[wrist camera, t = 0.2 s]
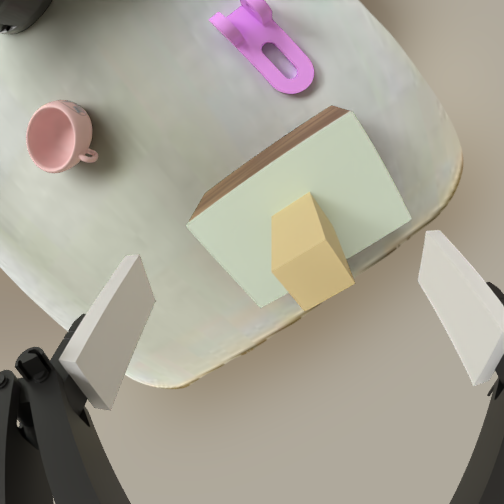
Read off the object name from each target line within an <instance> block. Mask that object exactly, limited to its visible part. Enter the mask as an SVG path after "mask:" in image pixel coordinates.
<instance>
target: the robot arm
mask: <svg viewBox="0 0 504 504" xmlns="http://www.w3.org/2000/svg"><path fill="white" fill-rule="evenodd" d="M51 1H52V0H0V33H2V34H15V33H19V32H21V31H23V30H25V29H27V28H28V27H29V26H31V25H32V24H33V23H34V22H35V21H36V20H37V19H38V18H39V17H40V16H41V15H42V14H43V13H44V11H45V10H46V9H47V7H48V6H49V4H50V2H51ZM418 283H419V284H420V286H421V287H422V289H423V291H424V293H425V294H426V296H427V298H428V299H429V301H430V303H431V305H432V306H433V308H434V310H435V312H436V313H437V315H438V317H439V319H440V321H441V322H442V324H443V326H444V328H445V330H446V332H447V333H448V335H449V337H450V339H451V341H452V343H453V345H454V347H455V349H456V351H457V353H458V355H459V357H460V359H461V361H462V363H463V365H464V367H465V369H466V371H467V373H468V376H469V378H470V380H471V382H472V384H473V386H475V385H478V384H481V383H484V382H487V381H489V379H490V378H491V376H492V375H493V373H494V371H496V372H497V375H498V379H497V380H496V382H495V383H494V385H493V386H492V388H491V390H490V391H489V393H488V396H490V394H491V393H492V392H493V394H492V397H491V401H490V404H489V408H488V411H487V414H486V417H485V420H484V423H483V426H482V429H481V432H480V435H479V438H478V441H477V443H476V446H475V449H474V451H473V454H472V456H471V459H470V461H469V464H468V466H467V468H466V471H465V473H464V475H463V477H462V479H461V481H460V484H459V486H458V488H457V490H456V492H455V494H454V496H453V498H452V500H451V502H450V504H504V294H503V293H502V292H501V290H500V289H499V288H497V287H496V286H495V285H493V284H492V283H490V282H487V283H486V282H485V281H484V280H483V279H482V277H481V276H480V275H479V274H478V273H477V271H476V270H475V269H474V268H473V267H472V265H471V264H470V263H469V262H468V261H467V260H466V258H465V257H464V256H463V255H462V254H461V253H460V252H459V250H457V248H456V247H455V246H454V245H453V244H452V243H451V242H450V241H449V239H448V238H447V237H446V236H445V235H444V234H443V233H442V232H441V231H440V230H432V231H426V234H425V241H424V248H423V254H422V260H421V266H420V271H419V276H418ZM155 302H156V300H155V298H154V295H153V292H152V289H151V286H150V283H149V281H148V278H147V275H146V272H145V269H144V266H143V263H142V260H141V257H140V254H136V255H126V256H125V257H124V258H123V260H122V261H121V263H120V264H119V266H118V267H117V268H116V270H115V271H114V273H113V274H112V276H111V277H110V279H109V280H108V282H107V283H106V284H105V286H104V287H103V289H102V290H101V292H100V293H99V295H98V296H97V298H96V300H95V301H94V303H93V304H92V306H91V307H90V309H89V310H88V312H87V314H82V315H81V316H80V317H79V318H78V319H77V320H75V321H74V323H73V324H72V326H71V327H70V329H69V332H67V334H66V335H65V337H64V339H63V340H62V342H61V344H60V345H59V347H58V348H57V350H56V352H55V354H54V355H53V357H52V358H51V360H49V359H48V357H47V356H46V355H45V353H44V351H43V350H42V349H41V348H39V347H32V348H29V349H27V350H26V351H24V352H23V353H22V354H21V355H20V356H19V357H18V359H17V361H16V364H15V368H16V369H17V370H18V371H19V373H20V374H21V375H22V376H23V378H16V376H15V375H14V374H13V372H12V371H10V370H4V371H1V372H0V504H53V498H54V501H55V503H56V504H131V503H130V501H129V500H128V498H127V496H126V494H125V492H124V490H123V489H122V487H121V485H120V483H119V481H118V479H117V477H116V475H115V473H114V471H113V469H112V466H111V464H110V463H109V460H108V458H107V456H106V453H105V451H104V449H103V447H102V444H101V442H100V440H99V437H98V435H97V432H96V430H95V428H94V425H93V422H92V420H91V417H90V415H89V412H88V410H87V409H86V407H85V403H86V401H87V399H88V400H89V402H90V403H91V404H92V405H93V406H94V408H98V409H104V410H111V409H112V406H113V403H114V401H115V398H116V396H117V393H118V390H119V388H120V385H121V383H122V380H123V377H124V375H125V373H126V370H127V368H128V365H129V363H130V360H131V358H132V355H133V353H134V350H135V348H136V346H137V343H138V341H139V339H140V336H141V334H142V332H143V329H144V327H145V325H146V322H147V320H148V318H149V315H150V313H151V311H152V309H153V306H154V304H155ZM17 420H18V421H19V422H20V426H19V427H17Z"/></svg>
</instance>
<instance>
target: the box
mask: <svg viewBox="0 0 504 504" xmlns="http://www.w3.org/2000/svg"><path fill="white" fill-rule="evenodd" d="M348 112H349V110H345V109H342V108H339V107H335V106H332V105H331V106H330V107H328V108H327V109H325V110H324V111H322V112H320V113H319V114H317V115H316V116H314V117H313V118H311V119H310V120H308V121H306V122H305V123H303V124H302V125H300V126H299V127H297V128H296V129H294V130H293V131H291V132H290V133H288V134H287V135H285V136H284V137H282V138H281V139H280V140H278V141H277V142H275V143H274V144H272V145H271V146H269V147H268V148H266V149H265V150H264V151H262V152H261V153H259V154H258V155H257V156H255V157H254V158H252V159H251V160H249V161H248V162H247V163H245V164H244V165H242V166H241V167H240V168H238V169H237V170H236V171H234V172H233V173H231V174H230V175H229V176H227V177H226V178H225V179H223V180H222V181H221V182H219V183H218V184H217V185H215V186H214V187H213V188H211V189H210V190H209V191H207V192H206V193H205V194H204V196H203V198H202V199H201V201H200V203H199V204H198V206H197V208H196V210H195V211H194V213H193V215H192V217H191V218H190V220H189V222H190V221H191V220H192V219H194V218H195V217H196V216H198V215H199V214H200V213H202V212H203V211H204V210H206V209H207V208H208V207H210V206H211V205H212V204H214V203H215V202H216V201H218V200H219V199H220V198H222V197H223V196H225V195H226V194H227V193H229V192H230V191H232V190H233V189H234V188H236V187H237V186H238V185H240V184H241V183H243V182H244V181H246V180H247V179H248V178H250V177H251V176H253V175H254V174H255V173H257V172H258V171H260V170H261V169H263V168H264V167H266V166H267V165H268V164H270V163H271V162H273V161H274V160H276V159H277V158H279V157H280V156H282V155H283V154H285V153H286V152H287V151H289V150H290V149H292V148H293V147H295V146H296V145H298V144H299V143H301V142H302V141H304V140H305V139H307V138H309V137H310V136H312V135H313V134H315V133H316V132H318V131H319V130H321V129H322V128H324V127H326V126H327V125H329V124H330V123H332V122H333V121H335V120H336V119H338V118H340V117H341V116H343V115H344V114H346V113H348Z"/></svg>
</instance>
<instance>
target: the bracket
mask: <svg viewBox="0 0 504 504" xmlns="http://www.w3.org/2000/svg"><path fill="white" fill-rule="evenodd" d="M240 2H241V5H242V6H240V7H239V8H238V9H236V10H235V11H234V12H232V13H231V14H230V15H228V16H227V17H225V16H224V15H222V14H221V13H220V12H217V13H216V14H215V15H214V16H212V17H211V18H210V19H209V21H210V22H211V23H212V24H213V25H214V26H215V27H216V28H217V29H218V30H219V31H220V32H221V33H222V34H223V35H224V36H225V37H226V38H227V39H228V40H229V41H230V42H231V43H232V44H233V45H234V46H235V47H236V48H237V49H238V50H239V51H240V52H241V53H242V54H243V55H244V56H245V57H246V58H247V59H248V60H249V61H250V62H251V63H252V65H253V66H254V67H255V68H256V69H257V70H258V71H259V72H260V73H261V74H262V75H263V76H264V77H265V79H266V80H267V81H268V82H269V83H270V84H271V85H272V86H273V87H274V88H275V89H276V90H278V91H280V92H283V93H287V94H295V93H299V92H301V91H303V90H305V89H306V88H307V87H308V86H309V85H310V84H311V82H312V80H313V77H314V68H313V65H312V63H311V61H310V59H309V58H308V57H307V56H306V55H305V54H304V53H303V51H302V50H301V49H300V48H299V47H298V46H297V45H296V44H295V43H294V41H293V40H292V39H291V38H290V37H289V36H288V35H287V34H286V33H285V32H284V31H283V30H282V29H281V28H280V27H279V26H278V25H277V24H276V23H275V22H274V20H273V19H272V10H271V8H270V7H269V5H268V4H267V3H266V2H265V1H264V0H240ZM266 43H272V44H274V45H275V46H276V47H277V48H278V49H279V50H280V51H281V52H282V53H283V54H284V55H285V56H286V58H287V59H288V60H289V61H290V62H291V63H292V64H293V65H294V67H295V68H296V69H297V75H296V77H295V78H293V79H288V78H286V77H285V76H284V75H283V74H282V73H281V72H280V71H279V70H278V69H277V68H276V66H275V65H274V64H273V63H272V62H271V61H270V60H269V59H268V58H267V57H266V56H265V55H264V54H263V52H262V47H263V45H264V44H266Z"/></svg>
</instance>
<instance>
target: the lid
mask: <svg viewBox="0 0 504 504" xmlns="http://www.w3.org/2000/svg"><path fill="white" fill-rule="evenodd" d="M410 220H412V218H411V216H410V214H409V212H408V210H407V208H406V206H405V204H404V201H403V199H402V197H401V195H400V193H399V191H398V189H397V188H396V186H395V184H394V182H393V180H392V178H391V176H390V174H389V172H388V170H387V169H386V167H385V165H384V163H383V161H382V160H381V158H380V156H379V154H378V152H377V151H376V149H375V147H374V146H373V144H372V142H371V140H370V139H369V137H368V135H367V134H366V132H365V130H364V129H363V127H362V126H361V124H360V122H359V121H358V119H357V118H356V116H355V114H354V113H353V112H352V111H349V112H348V113H346V114H344V115H343V116H341V117H340V118H338V119H336V120H335V121H333V122H332V123H330V124H329V125H327V126H326V127H324V128H322V129H321V130H319V131H318V132H316V133H315V134H313V135H312V136H310V137H309V138H307V139H305V140H304V141H302V142H301V143H299V144H298V145H296V146H295V147H293V148H292V149H290V150H289V151H287V152H286V153H285V154H283V155H282V156H280V157H279V158H277V159H276V160H274V161H273V162H271V163H270V164H268V165H267V166H266V167H264V168H263V169H261V170H260V171H258V172H257V173H255V174H254V175H253V176H251V177H250V178H248V179H247V180H246V181H244V182H243V183H241V184H240V185H238V186H237V187H236V188H234V189H233V190H232V191H230V192H229V193H227V194H226V195H225V196H223V197H222V198H220V199H219V200H218V201H216V202H215V203H214V204H212V205H211V206H210V207H208V208H207V209H206V210H204V211H203V212H202V213H200V214H199V215H198V216H196V217H195V218H194V219H192V220H191V221H190V222H188V224H187V226H186V227H187V228H188V229H189V231H190V232H191V233H192V234H193V235H194V236H195V237H196V238H197V239H198V241H199V242H200V243H201V244H202V245H203V246H204V247H205V248H206V249H207V251H208V252H209V253H210V254H211V255H212V256H213V257H214V258H215V259H216V260H217V262H218V263H219V264H220V265H221V266H222V267H223V268H224V269H225V270H226V271H227V273H228V274H229V275H230V276H231V277H232V278H233V279H234V280H235V281H236V282H237V283H238V284H239V286H240V287H241V288H242V289H243V290H244V291H245V292H246V293H247V294H248V295H249V296H250V297H251V298H252V300H253V301H254V302H255V303H256V304H257V305H258V306H259V307H260V308H262V307H264V306H266V305H267V304H269V303H271V302H273V301H275V300H277V299H278V298H280V297H282V296H284V295H286V294H287V293H290V295H291V296H292V297H293V298H294V299H295V301H296V302H297V303H298V304H299V305H300V307H301V308H302V309H303V310H304V311H306V310H308V309H310V308H312V307H314V306H316V305H318V304H320V303H321V302H323V301H325V300H327V299H329V298H331V297H332V296H334V295H336V294H338V293H339V292H341V291H343V290H345V289H347V288H348V287H350V286H352V285H354V284H355V282H354V279H353V276H352V273H351V271H350V268H349V265H348V263H347V259H348V258H350V257H352V256H353V255H355V254H357V253H358V252H360V251H362V250H363V249H365V248H367V247H368V246H370V245H372V244H373V243H375V242H377V241H378V240H380V239H381V238H383V237H385V236H386V235H388V234H390V233H391V232H393V231H394V230H396V229H398V228H399V227H401V226H402V225H404V224H406V223H407V222H409V221H410Z"/></svg>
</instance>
